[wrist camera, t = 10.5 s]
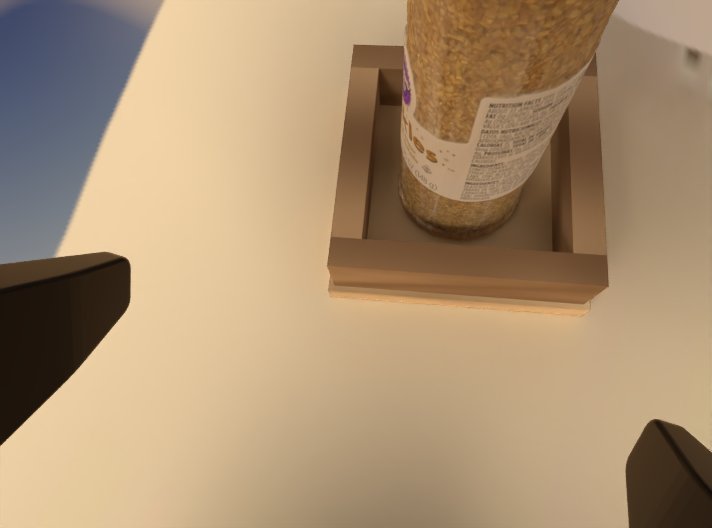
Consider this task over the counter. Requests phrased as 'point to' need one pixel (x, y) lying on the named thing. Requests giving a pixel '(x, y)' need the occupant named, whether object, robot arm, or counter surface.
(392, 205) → the holder
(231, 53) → the counter surface
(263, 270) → the counter surface
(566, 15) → the sprinkles bottle
